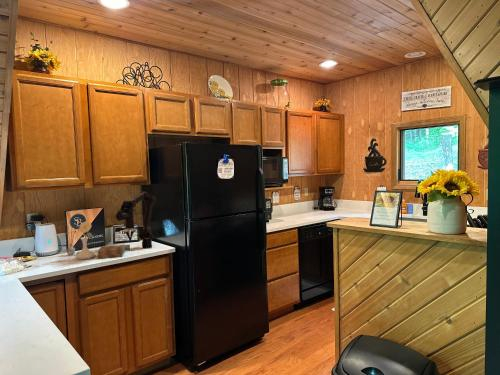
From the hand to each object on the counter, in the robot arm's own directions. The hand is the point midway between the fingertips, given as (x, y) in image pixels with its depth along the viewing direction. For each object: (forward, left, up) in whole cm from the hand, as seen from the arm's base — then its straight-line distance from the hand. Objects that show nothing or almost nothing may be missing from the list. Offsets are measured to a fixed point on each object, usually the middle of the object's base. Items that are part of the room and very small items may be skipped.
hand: (130, 241), depth 236 cm
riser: (+4, -13, -9) cm, 16 cm away
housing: (+13, 0, -9) cm, 16 cm away
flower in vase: (+28, +3, -9) cm, 30 cm away
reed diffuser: (+40, -12, -9) cm, 43 cm away
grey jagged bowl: (+12, 0, -9) cm, 14 cm away
